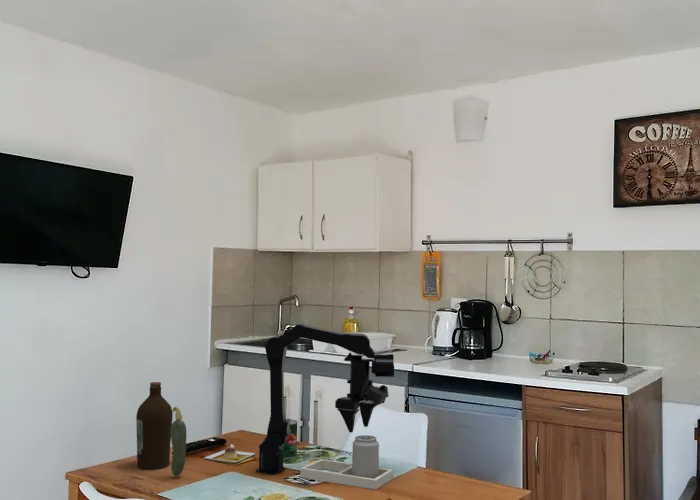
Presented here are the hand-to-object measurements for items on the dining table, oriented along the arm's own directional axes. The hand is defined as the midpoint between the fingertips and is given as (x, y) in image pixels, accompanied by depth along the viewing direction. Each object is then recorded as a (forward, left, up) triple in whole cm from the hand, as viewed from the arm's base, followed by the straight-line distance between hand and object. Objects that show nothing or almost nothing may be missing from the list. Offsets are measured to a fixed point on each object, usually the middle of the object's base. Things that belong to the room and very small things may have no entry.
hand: (358, 429), depth 198 cm
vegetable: (-43, -30, -13) cm, 54 cm away
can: (+5, -6, -13) cm, 15 cm away
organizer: (-1, -6, -13) cm, 14 cm away
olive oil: (-58, -24, -13) cm, 64 cm away
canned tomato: (-30, +6, -13) cm, 33 cm away
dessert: (-44, -4, -14) cm, 46 cm away
